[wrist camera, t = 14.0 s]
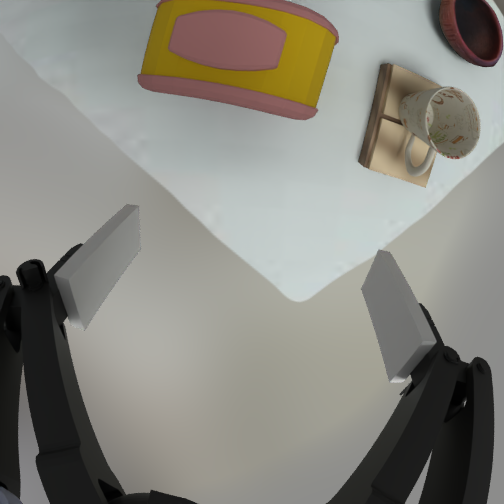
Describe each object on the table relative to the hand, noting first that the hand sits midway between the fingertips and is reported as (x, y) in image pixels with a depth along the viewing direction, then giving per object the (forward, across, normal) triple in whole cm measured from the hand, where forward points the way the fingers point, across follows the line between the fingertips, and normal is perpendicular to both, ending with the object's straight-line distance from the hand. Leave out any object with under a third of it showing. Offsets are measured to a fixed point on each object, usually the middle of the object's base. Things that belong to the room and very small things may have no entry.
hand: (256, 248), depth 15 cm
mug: (+25, +19, +9) cm, 33 cm away
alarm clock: (+29, -5, +12) cm, 32 cm away
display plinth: (+29, +19, +9) cm, 36 cm away
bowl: (+29, +25, +31) cm, 49 cm away
